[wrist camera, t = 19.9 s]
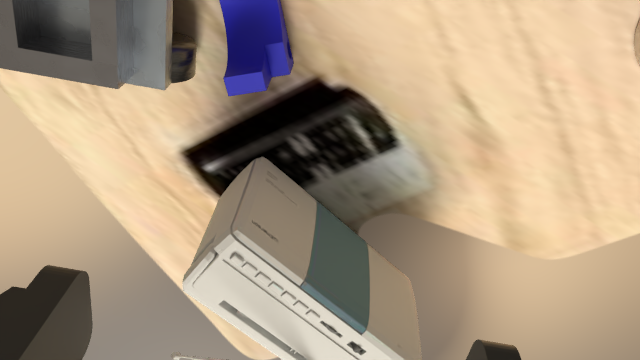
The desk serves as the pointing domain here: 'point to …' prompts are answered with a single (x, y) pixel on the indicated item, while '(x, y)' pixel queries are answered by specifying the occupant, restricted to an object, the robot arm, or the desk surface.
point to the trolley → (96, 41)
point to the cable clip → (255, 44)
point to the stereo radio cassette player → (299, 276)
